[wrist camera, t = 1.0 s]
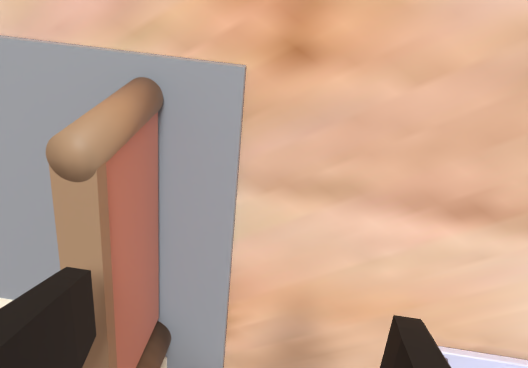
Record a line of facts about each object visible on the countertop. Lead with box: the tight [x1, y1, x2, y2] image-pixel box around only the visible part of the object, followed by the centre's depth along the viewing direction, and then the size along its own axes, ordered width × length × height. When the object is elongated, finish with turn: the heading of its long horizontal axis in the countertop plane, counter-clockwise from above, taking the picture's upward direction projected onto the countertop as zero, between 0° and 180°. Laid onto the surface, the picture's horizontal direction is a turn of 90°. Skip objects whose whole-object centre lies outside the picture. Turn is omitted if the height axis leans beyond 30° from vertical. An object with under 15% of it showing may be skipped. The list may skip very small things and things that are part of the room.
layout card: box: [0, 35, 246, 368], centre depth 24 cm, size 17×24×1 cm
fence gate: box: [46, 77, 163, 368], centre depth 18 cm, size 11×1×6 cm, turn 175°
